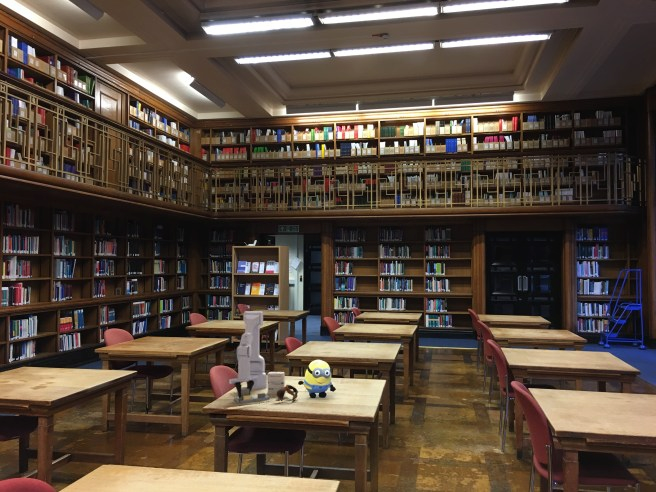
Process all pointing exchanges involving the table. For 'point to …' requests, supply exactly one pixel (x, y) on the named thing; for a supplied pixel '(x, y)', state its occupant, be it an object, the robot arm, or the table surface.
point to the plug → (244, 392)
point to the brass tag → (246, 397)
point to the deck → (234, 394)
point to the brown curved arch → (287, 388)
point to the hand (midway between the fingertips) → (244, 396)
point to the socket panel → (252, 399)
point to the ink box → (275, 382)
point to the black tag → (261, 395)
